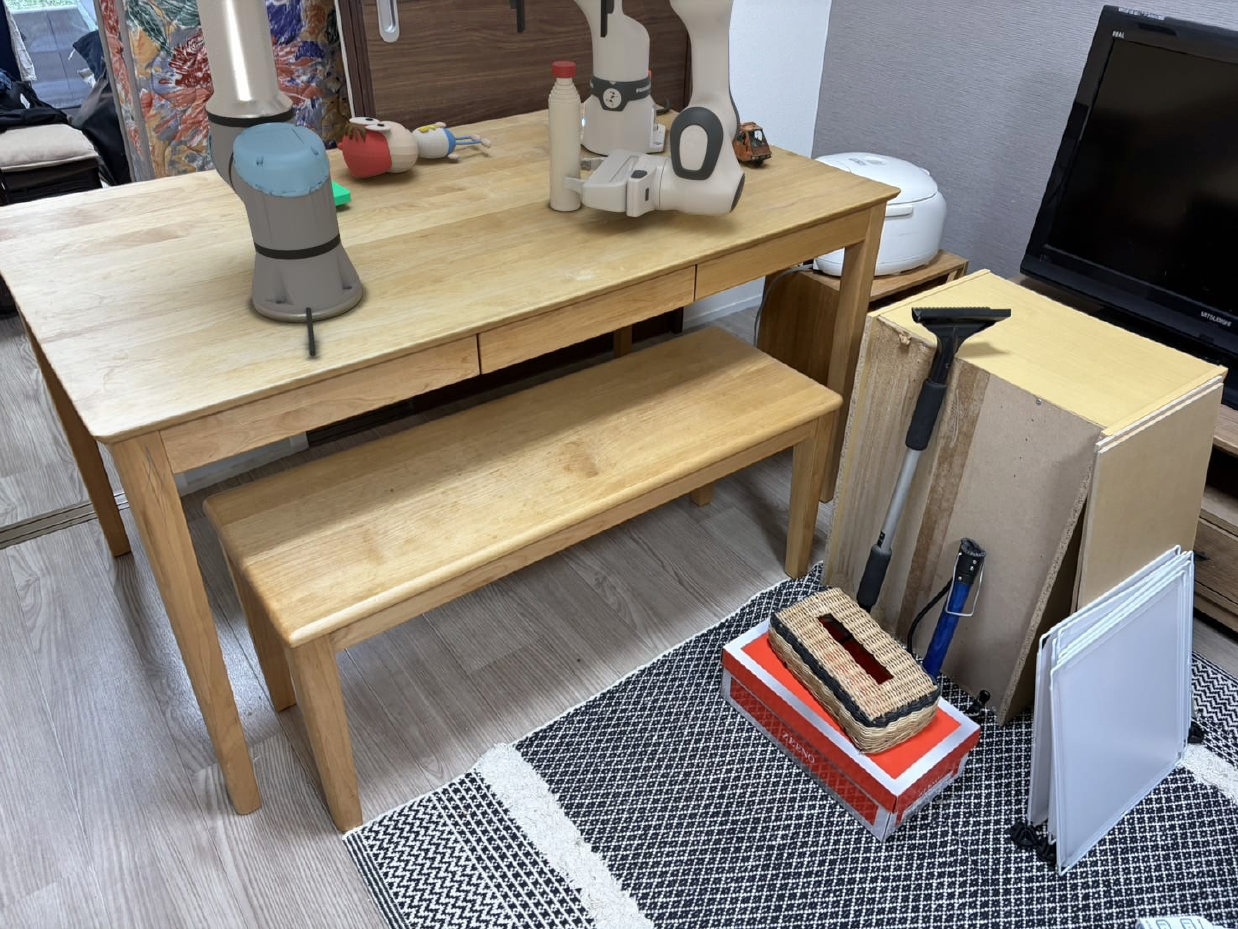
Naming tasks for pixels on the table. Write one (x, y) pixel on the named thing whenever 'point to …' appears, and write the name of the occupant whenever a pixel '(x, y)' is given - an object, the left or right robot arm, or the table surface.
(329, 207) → the left robot arm
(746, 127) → the toy car
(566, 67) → the cap
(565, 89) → the bottle
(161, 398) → the table surface
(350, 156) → the toy
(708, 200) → the right robot arm
